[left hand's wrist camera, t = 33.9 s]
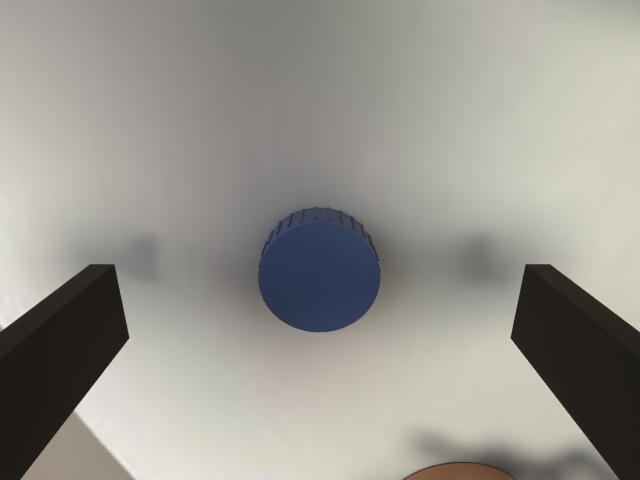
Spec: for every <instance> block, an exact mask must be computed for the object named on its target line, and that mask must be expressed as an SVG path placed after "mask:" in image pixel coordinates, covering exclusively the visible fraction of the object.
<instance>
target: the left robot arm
mask: <svg viewBox="0 0 640 480" xmlns="http://www.w3.org/2000/svg"><path fill="white" fill-rule="evenodd" d="M128 339H129V334H128V329H127V324H126V319H125V314H124V309H123V304H122V299H121V294H120V290H119V285H118V280H117V275H116V270H115V265H114V264H90V265H89V266H87V267H86V268H85V269H83V270H82V271H81V272H79V273H78V274H77V275H75V276H74V277H73V278H71V279H70V280H69V281H67V282H66V283H65V284H63V285H62V286H61V287H59V288H58V289H57V290H55V291H54V292H53V293H52V294H50V295H49V296H48V297H46V298H45V299H44V300H42V301H41V302H40V303H38V304H37V305H36V306H34V307H33V308H32V309H30V310H29V311H28V312H26V313H25V314H24V315H22V316H21V317H20V318H18V319H17V320H16V321H14V322H13V323H12V324H10V325H9V326H8V327H6V328H5V329H4V330H2V331H1V332H0V480H20V479H21V478H22V477H23V475H24V474H25V473H26V471H27V470H28V469H29V468H30V466H31V465H32V464H33V462H34V461H35V460H36V459H37V457H38V456H39V455H40V453H41V452H42V451H43V449H44V448H45V447H46V446H47V444H48V443H49V442H50V440H51V439H52V438H53V436H54V435H55V434H56V433H57V431H58V430H59V429H60V427H61V426H62V425H63V423H64V422H65V421H66V420H67V418H68V417H69V416H70V414H71V413H72V412H73V411H74V409H75V408H76V407H77V405H78V404H79V403H80V401H81V400H82V399H83V398H84V396H85V395H86V394H87V392H88V391H89V390H90V389H91V387H92V386H93V385H94V383H95V382H96V381H97V379H98V378H99V377H100V376H101V374H102V373H103V372H104V370H105V369H106V368H107V366H108V365H109V364H110V363H111V361H112V360H113V359H114V357H115V356H116V355H117V354H118V352H119V351H120V350H121V348H122V347H123V346H124V344H125V343H126V342H127V341H128ZM511 339H512V341H513V342H514V343H515V344H516V346H517V347H518V348H519V350H520V351H521V352H522V354H523V355H524V356H525V357H526V359H527V360H528V361H529V363H530V364H531V365H532V366H533V368H534V369H535V370H536V372H537V373H538V374H539V376H540V377H541V378H542V379H543V381H544V382H545V383H546V385H547V386H548V387H549V389H550V390H551V391H552V392H553V394H554V395H555V396H556V398H557V399H558V400H559V401H560V403H561V404H562V405H563V407H564V408H565V409H566V411H567V412H568V413H569V414H570V416H571V417H572V418H573V420H574V421H575V422H576V424H577V425H578V426H579V427H580V429H581V430H582V431H583V433H584V434H585V435H586V436H587V438H588V439H589V440H590V442H591V443H592V444H593V446H594V447H595V448H596V449H597V451H598V452H599V453H600V455H601V456H602V457H603V459H604V460H605V461H606V462H607V464H608V465H609V466H610V468H611V469H612V470H613V471H614V473H615V474H616V475H617V477H618V478H619V479H620V480H640V332H639V331H638V330H636V329H635V328H634V327H632V326H631V325H630V324H628V323H627V322H626V321H624V320H623V319H622V318H620V317H619V316H618V315H616V314H615V313H614V312H612V311H611V310H610V309H608V308H607V307H606V306H604V305H603V304H602V303H600V302H599V301H598V300H596V299H595V298H594V297H592V296H591V295H590V294H588V293H587V292H586V291H585V290H583V289H582V288H581V287H579V286H578V285H577V284H575V283H574V282H573V281H571V280H570V279H569V278H567V277H566V276H565V275H563V274H562V273H561V272H559V271H558V270H557V269H555V268H554V267H553V266H551V265H550V264H526V265H525V270H524V275H523V280H522V285H521V290H520V295H519V299H518V304H517V309H516V314H515V319H514V324H513V329H512V334H511Z"/></svg>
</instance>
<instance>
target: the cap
mask: <svg viewBox="0 0 640 480" xmlns="http://www.w3.org/2000/svg"><path fill="white" fill-rule="evenodd" d="M261 256H262V258H261V261H260V263H259V267H258V268H259V272H258V281H259V288H260V292H261V295H262V297H263V299H264V301H265V303H266V305H267V306H268V308H269V309H270V310H271V311H272V313H274V314H275V315H276V316H277V317H278V318H279V319H280V320H282V321H283V322H285V323H286V324H288V325H290V326H292V327H295V328H297V329H301V330H304V331H310V332H329V331H334V330H338V329H341V328H344V327H346V326H348V325H350V324H352V323H354V322H355V321H357V320H358V319H360V318H361V317H362V316H363V315H364V314H365V313H366V312H367V311H368V309H369V308H370V307H371V305H372V304H373V302H374V300H375V298H376V296H377V293H378V290H379V285H380V269H379V265H378V262H377V261H379V259H378V256H377V253H376V251H375V248H374V246H373V244H372V241H371V238H370V235H367V233H366V232H365V230H364V228H363V226H362V225H360V224H359V223H357V222H356V221H355V220H354V218H353V217H349V216H348V215H346V214H344V213H342V211H340V212H339V211H336V210H331V209H330V208H327V209H325V208H317V207H314V208H313V209H307V210H304V209H302V210H301V211H300V212H297V213H295V214H293V215H292V214H290V215H289V217H288V218H286V219H285V220H283V221H282V222H281V221H280V222H279V225H278V226H277V227H276V228H275V230H274V231H273V230H272V231H271V234H270V237H269V240H268V241H266V243H265V246H264V249H263V252H262V254H261Z"/></svg>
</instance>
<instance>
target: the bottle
mask: <svg viewBox="0 0 640 480" xmlns="http://www.w3.org/2000/svg"><path fill="white" fill-rule="evenodd" d="M405 480H514V479H513V478H512V477H510V476H509V475H507V474H506V473H504V472H502V471H500V470H498V469H495V468H493V467H489V466H486V465H481V464H474V463H451V464H444V465H439V466H434V467H431V468H428V469H425V470H423V471H420V472H418V473H416V474H414V475H412V476H410V477H408V478H407V479H405Z"/></svg>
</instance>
